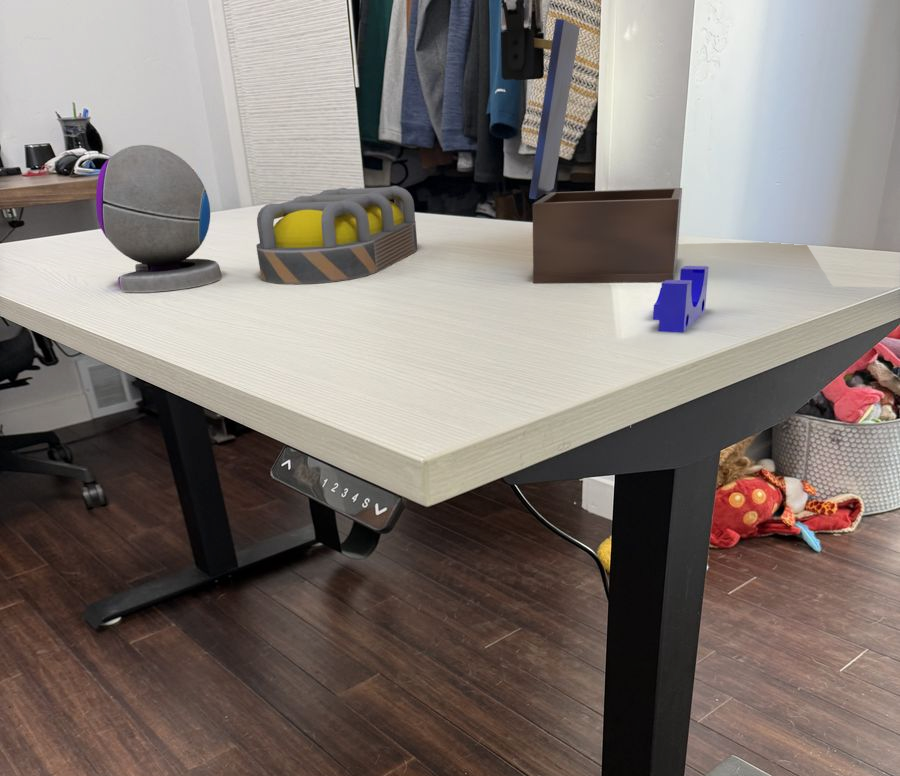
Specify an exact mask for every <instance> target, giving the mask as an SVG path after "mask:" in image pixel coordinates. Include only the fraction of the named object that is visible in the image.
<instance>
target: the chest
mask: <svg viewBox="0 0 900 776" xmlns="http://www.w3.org/2000/svg"><path fill="white" fill-rule="evenodd" d="M682 197H683V187H668V188H667V187H666V188H663V187H662V188H643V189H642V188H640V189H639V188H637V189H636V188H635V189H613V190H612V189H611V190H584V191H582V190H581V191H580V190H579V191H557V192H555V191H553V192H548V193H547V194H546V195H545V196H542V197H541V198H540V199H538V200H537V201H535V202H534V203H532V284H590V283H591V284H593V283H595V284H597V283H598V284H601V283H608V284H609V283H663V282H664V281H665V280H675V274H676V269H677V264H678V252H679V237H680V225H681V211H682Z"/></svg>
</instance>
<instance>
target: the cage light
mask: <svg viewBox="0 0 900 776" xmlns="http://www.w3.org/2000/svg"><path fill="white" fill-rule="evenodd" d="M391 200H393V201H391ZM415 212H416V211H415V201H414V198H413V196H412V195H411V193H410V192H409V191H408V190H407V189H406V188H404V187H400V186H399V185H392V186H388V187H387V186H386V187H363V188H362V187H361V188H346V187H339V188H336V189H334V188H333V189H325V190H323V191H321V192H320V193H316V194H312V195H300V196H296V197H295V198H294V199H292V200H288V201H284V202H279V203H278V202H277V203H268V204H265V205H264V206H263V207H261V208H260V210H259V211H258V213H257V216H256V225H257V226H256V227H257V233H258V239H259V243H257V244H256V255H257V259H258V260H257V261H258V266H259V272H260V279H261V281H264V282H267V283H271V284H272V283H273V284H283V285H285V284H286V285H288V284H289V285H293V284H294V285H303V284H323V283H331V282H332V283H333V282H340V281H347V280H353V279H358V278H362V277H367V276H370V275H372V274H375V273H378V272H380V271H382V270H384V269H385V268H388V267H390V266H391V265H393V264H395V263H397V262H399V261H401V260H403V259H405V258H407V257H409V256H411V255H413V254H415V253H416V252H417V251H418V237H417V222H416V213H415ZM276 219H279V220H278V221H277V222H276V223H274V222H275V220H276Z"/></svg>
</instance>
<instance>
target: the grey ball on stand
mask: <svg viewBox="0 0 900 776" xmlns="http://www.w3.org/2000/svg"><path fill="white" fill-rule="evenodd" d="M204 185H205V184H204V183H203V181H202V179H201V177H200V176H199V175H198V174H197V172H196V171H195V170H194V169H193V168H192V166H191V165H190V164H189V163H188V162H186V160H185V159H183V158H182V157H181V156H179V155H177V154H176V153H174V152H172V151H170V150H169V149H165V148H164V147H160V146H157V145H156V146H154V145H150V144H138V145H131V146H127V147H125V148H123V149H121V150H119V151H118V152H116V153H114V154H113V155H111V156H109V158H108V159H107V160H105V162H104V163H103V165H102V166H101V168H100V171H99V172H98V177H97V183H96V192H95V193H96V194H95V206H96V207H95V208H96V209H95V210H96V211H95V212H96V217H97V218H96V219H97V222H98V225H99V227H100V229H101V231H102V233H103V235H104V236H105V238H106V239H107V240H108V241H109V242H110V243H111V244H112V246H113V247H114V248H115V249H116V250H117V251H119V252H120V253H121V254H122V255H124V256H125V257H127V258H129V259H131V260H132V261H135V262H136V264H135V265H134V267H135V268H134V270H135V271H131V272H127V273H124V274H121V275H120V276H118V277H117V281H118V285H119V288H120V290H121V292H122V293H156V292H168V291H177V290H184V289H191V288H195V287H201V286H205V285H209V284H213V283H215V282H218V281H219V280H221V279H222V272H221V271H222V270H221V267H220V265H219V263H218V261H216V260H212V259H208V258H207V259H206V258H190V257H191V256H192V255H193V254H195V252H196V251H198V250H199V248H200V247H201V246H202V244H203V242H204V241H205V239H206V238H207V235H208V231H209V228H210V223H211V204H210V200H209V196H208V193H207V189H206V187H205V186H204Z"/></svg>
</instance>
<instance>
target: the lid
mask: <svg viewBox="0 0 900 776" xmlns="http://www.w3.org/2000/svg"><path fill="white" fill-rule="evenodd" d="M580 28H581V27H580V26H578V25H576V24H574V23H572V22H570V21H568V20H566V19H563V18H555V22H554V28H553V29H554V30H553V36H552V39H547V38H546V39H545V38H544V39H538V38H534V47H535V48H542V49H544V50H550V55H549V60H548V61H549V62H548V68H547V73H546V74H547V75H546V82H545V88H544V95H543V102H542V107H541V114H540V121H539V130H538V134H537V141H536V148H535V155H534V161H533V168H532V174H531V176H532V177H531V181H530V188H529V195H528V199H531V200H537V199H539V198H540V197H543V196H544V195H545V194H548V193H549V192H550V191H552V190H553V189H554V188H555V181H556V176H557V169H558V163H559V159H560V150H561V144H562V141H563V140H562V139H563V132H564V127H565V121H566V114H567V108H568V102H569V98H570V97H569V96H570V90H571V86H572V85H571V84H572V79H573V73H574V66H575V59H576V54H577V46H578V41H579V35H580Z"/></svg>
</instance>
